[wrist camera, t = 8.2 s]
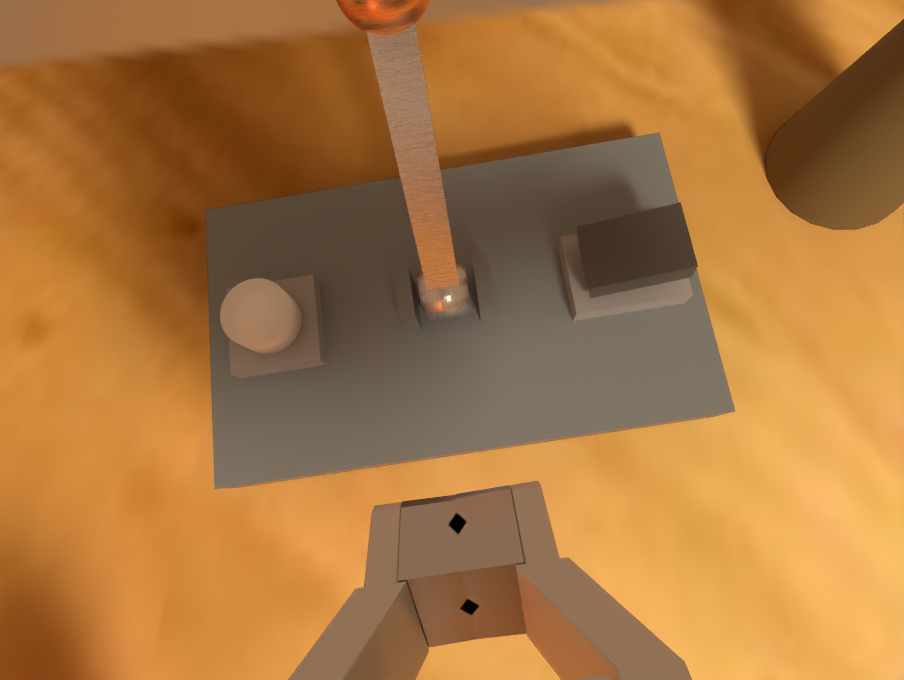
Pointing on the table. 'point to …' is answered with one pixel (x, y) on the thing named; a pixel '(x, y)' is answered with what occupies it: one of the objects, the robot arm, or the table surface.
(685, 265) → the rocker switch
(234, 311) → the push button
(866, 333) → the table surface
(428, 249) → the copper ball joystick
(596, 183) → the control panel
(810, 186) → the brown pawn
